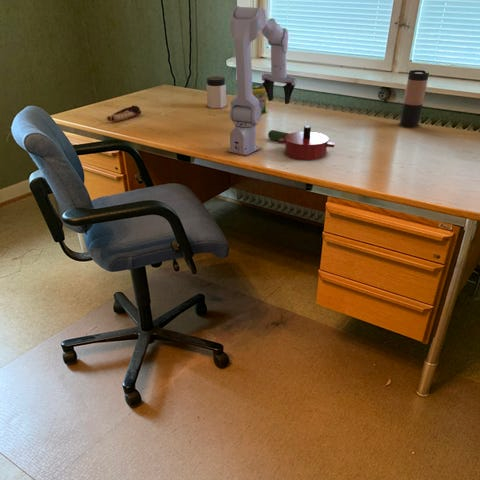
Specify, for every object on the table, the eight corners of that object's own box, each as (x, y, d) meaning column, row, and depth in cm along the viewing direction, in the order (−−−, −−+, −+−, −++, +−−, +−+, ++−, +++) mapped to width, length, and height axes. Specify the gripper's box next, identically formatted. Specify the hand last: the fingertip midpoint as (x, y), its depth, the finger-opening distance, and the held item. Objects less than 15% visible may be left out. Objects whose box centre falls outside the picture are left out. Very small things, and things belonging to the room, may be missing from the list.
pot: (330, 162, 168) (332, 147, 165) (274, 157, 172) (274, 143, 169) (335, 149, 179) (337, 135, 176) (282, 144, 183) (282, 131, 180)
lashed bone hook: (131, 113, 221) (99, 121, 210) (130, 102, 219) (97, 109, 207) (145, 116, 216) (113, 124, 205) (144, 104, 214) (111, 112, 202)
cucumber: (294, 142, 186) (294, 133, 184) (289, 144, 184) (290, 135, 181) (271, 137, 191) (271, 128, 188) (266, 139, 188) (266, 130, 186)
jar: (204, 105, 231) (203, 77, 224) (220, 103, 234) (219, 75, 227) (213, 109, 225) (211, 80, 217) (228, 107, 228) (228, 79, 220)
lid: (325, 149, 165) (326, 134, 162) (280, 146, 169) (281, 131, 166) (330, 136, 177) (332, 122, 174) (289, 133, 180) (289, 119, 178)
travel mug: (397, 126, 202) (406, 72, 189) (401, 121, 207) (411, 69, 195) (416, 128, 199) (427, 74, 187) (420, 123, 204) (431, 71, 192)
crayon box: (250, 114, 218) (250, 85, 211) (248, 112, 220) (248, 84, 213) (265, 112, 219) (266, 84, 212) (263, 111, 222) (264, 83, 215)
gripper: (301, 63, 182) (300, 101, 192) (268, 59, 189) (269, 95, 198) (291, 69, 178) (290, 107, 188) (258, 64, 185) (259, 101, 194)
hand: (278, 101), depth 193 cm, fingers open, 7 cm apart
